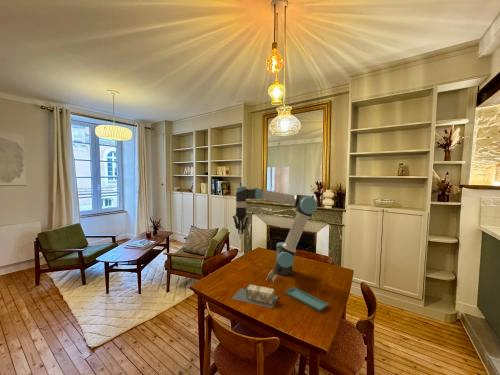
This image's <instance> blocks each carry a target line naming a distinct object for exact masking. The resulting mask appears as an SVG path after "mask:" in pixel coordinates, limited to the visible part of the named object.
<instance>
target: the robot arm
mask: <svg viewBox="0 0 500 375" xmlns="http://www.w3.org/2000/svg"><path fill="white" fill-rule="evenodd" d="M235 188H236V190H235V214H234V215H232V218H233V221H234V225H235V229H236V230H237V233H238V237H239V240H241V239H243V237H244V236H243V235H244V231H245V230H246V229H247V226H248V223H249V222H248V221H249V219H250V216H249V215H247V200H265V201H269V202H270V201H271V202H274V203H275V202H277V203H281V204H287V205H292V206H293V207H295V208H296V210H295V212H296V215H295V218H294V220H293V222H292V225H291V227H290V230H289V231H288V234H287V237H286V238H285V241H284V242H283V241H282V242H277V243H276V246H275V248H276V259H275V261H276V262H275V264H274V267H273V272H274V273H275V274H276V273H277V275H279V276H290V275H292V274H294V267H293V264H294V259H295V256H296V254H297V250H296V248H297V246H298V243H299V241H300V238H301V236H302V234H303V232H304V229H305V227H306V224H307V222H308V221H309V219H311V218H312V217H313V215H314V213H315V212H316V211H317V208H318V202H317V201H316V199H315V198H314V197H312V196H310V195H308V194H307V195H306V194H290V193H289V194H288V193H284V192H283V193H282V192H279V191H272V190H267V189H263V188H262V189H261V188H257V187H254V188H247V186H246V185H237V186H236V187H235Z"/></svg>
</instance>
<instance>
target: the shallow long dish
mask: <svg viewBox="0 0 500 375" xmlns="http://www.w3.org/2000/svg"><path fill="white" fill-rule="evenodd" d="M284 292H285V294H286V295H288V297H289V296H290V297H291V298H293V299H295V300H297V301H298V302H300V303H303V304H305V305H306V306H308V307H310V308H312V309H314V310H316V311H317V312H321V311H323V310H324V309H327V307H328V306H329V303H328V302H326V301H324V300H322V299H320V298H317V297H315V296H313V295H312V294H309V293H307V292H305V291H303V290H300V289H299V288H297V287H295V286H293V287H291V288H289V289H286V290H285V291H284Z"/></svg>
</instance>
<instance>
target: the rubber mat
mask: <svg viewBox="0 0 500 375" xmlns="http://www.w3.org/2000/svg"><path fill="white" fill-rule="evenodd" d="M278 299H279V295H275V294H274V299H273V301H272V303H271V304H270V303H265V302H261V301H257V300H252V299H248V298H246V288H239V289H238V290H237V292H236V293H235V294H234V295H233V296H232V297H231V300H235V301H238V302H239V301H240V302H245V303H248V304H253V305H257V306H261V307H266V308H270V309H272V310H273V309H274V307H275V304H276V302H277V300H278Z"/></svg>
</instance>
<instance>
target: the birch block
mask: <svg viewBox="0 0 500 375" xmlns="http://www.w3.org/2000/svg"><path fill="white" fill-rule="evenodd" d="M245 289H246V298H248V299H252V300H257V301H261V302H265V303H270V304H271V303H272V301H273V299H274V295H275V289H274V288H271V287H266V286H260V285H255V284H248V286H247V287H246V288H245Z"/></svg>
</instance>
